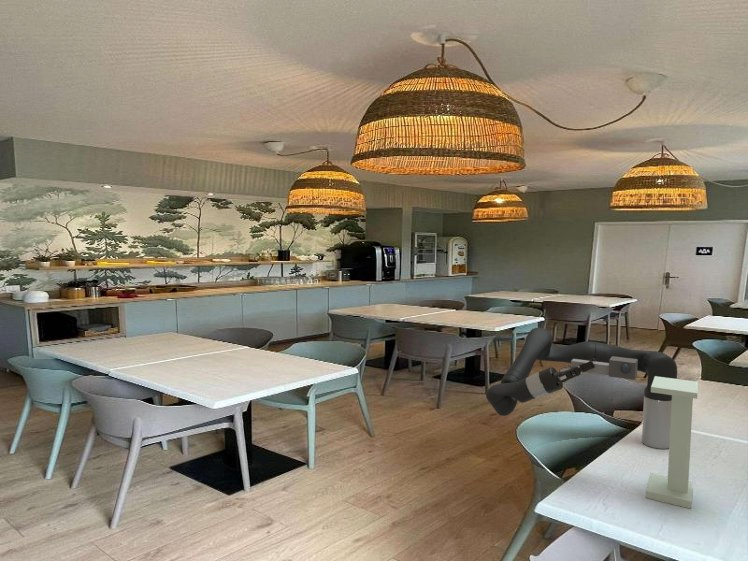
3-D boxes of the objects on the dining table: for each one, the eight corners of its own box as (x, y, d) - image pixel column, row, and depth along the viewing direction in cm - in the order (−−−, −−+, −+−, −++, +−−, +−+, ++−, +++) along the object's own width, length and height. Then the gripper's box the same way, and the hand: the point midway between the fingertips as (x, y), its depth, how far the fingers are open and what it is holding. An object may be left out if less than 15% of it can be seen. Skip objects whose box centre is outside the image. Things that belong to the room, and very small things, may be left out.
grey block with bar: (574, 367, 164) (574, 351, 164) (637, 375, 155) (637, 358, 154) (569, 371, 158) (569, 355, 158) (634, 380, 148) (635, 363, 148)
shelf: (649, 478, 157) (654, 376, 155) (692, 488, 152) (697, 381, 149) (645, 497, 146) (651, 386, 143) (691, 508, 140) (697, 393, 137)
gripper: (554, 388, 171) (604, 369, 163) (544, 399, 159) (596, 379, 151) (544, 367, 173) (592, 347, 164) (532, 376, 161) (584, 355, 152)
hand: (594, 362), depth 158 cm, fingers closed on grey block with bar, 3 cm apart
